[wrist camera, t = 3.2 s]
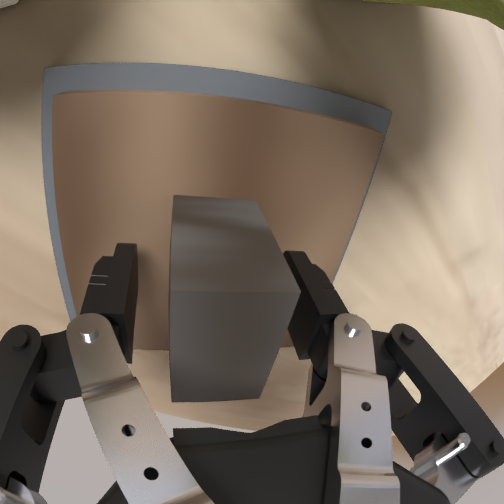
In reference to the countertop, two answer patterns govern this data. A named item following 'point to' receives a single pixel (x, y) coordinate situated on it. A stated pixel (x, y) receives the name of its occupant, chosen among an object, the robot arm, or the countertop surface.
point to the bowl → (7, 3)
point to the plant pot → (463, 7)
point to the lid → (206, 218)
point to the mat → (192, 82)
